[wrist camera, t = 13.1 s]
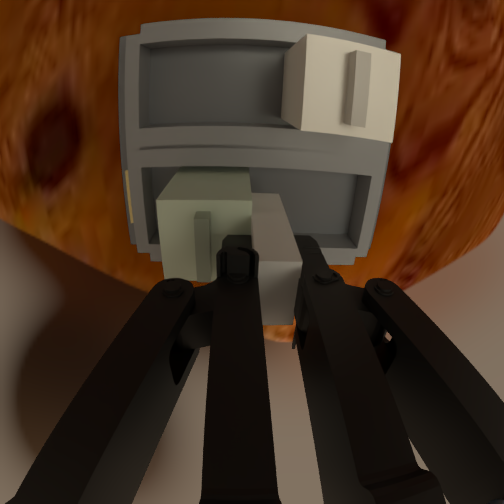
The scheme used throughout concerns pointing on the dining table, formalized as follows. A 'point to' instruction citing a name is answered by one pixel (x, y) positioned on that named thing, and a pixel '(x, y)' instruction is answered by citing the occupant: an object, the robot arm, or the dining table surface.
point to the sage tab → (201, 218)
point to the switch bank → (240, 129)
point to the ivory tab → (341, 88)
